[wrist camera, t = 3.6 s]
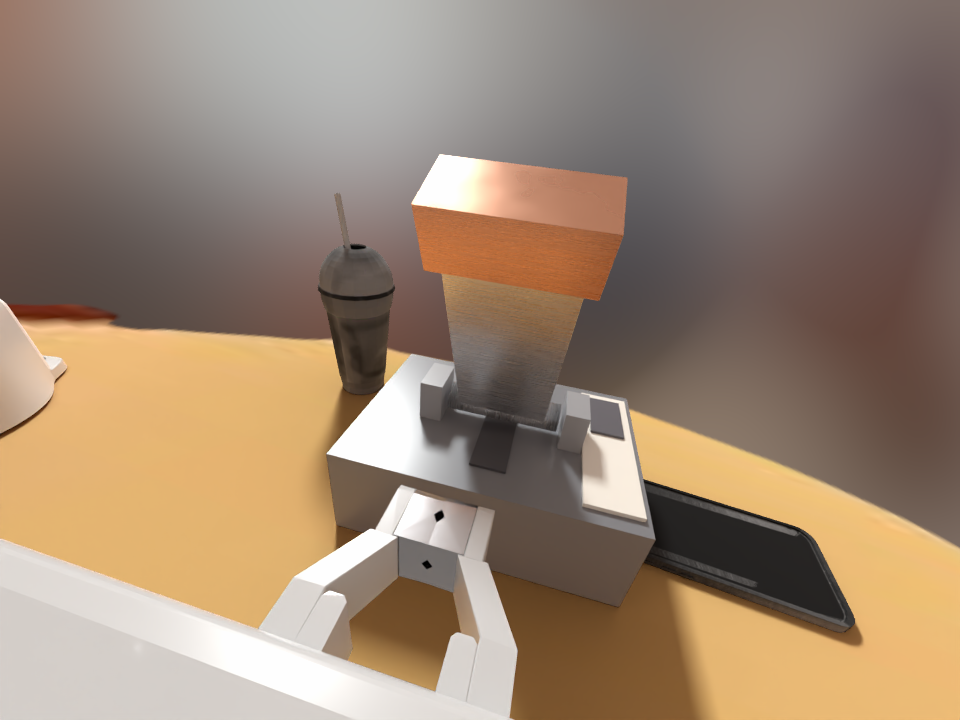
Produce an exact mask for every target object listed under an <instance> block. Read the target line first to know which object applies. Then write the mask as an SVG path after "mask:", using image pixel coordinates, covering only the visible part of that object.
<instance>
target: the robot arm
mask: <svg viewBox="0 0 960 720" xmlns="http://www.w3.org/2000/svg"><path fill="white" fill-rule="evenodd" d="M66 369H67V365H66V364H65V362H64V361H63V360H62V359H61V358H59V357H52V356H42V355H41V353H40V352H39V350H38V349H37V347H36V346H35V344H34V343H33V341H32V340H31V339H30V337H29V336H28V334H27V333H26V331H25V330H24V328H23V327H22V325H21V324H20V323H19V321H18V320H17V318H16V317H15V315H14V314H13V313H12V311H11V310H10V308H9V307H8V305H7V304H6V303H5V302H4V301H2V300H1V299H0V433H2V432H4V431H6V430H8V429H10V428H12V427H14V426H15V425H17V424H19V423H21V422H22V421H24V420H26V419H27V418H29V417H30V416H32V415H33V414H34V413H36V412H37V411H38V410H39V409H41V408H42V407H43V406H44V405H45V404H46V403H47V402H48V401H49V399H50V398H51V396H52V394H53V392H54V382H55V379H57V378H58V377H59V376H60V375H61V374H62V373H63V372H64V371H65V370H66ZM494 514H495V510H491V509H488V508H484V507H480V506H479V507H478V505H474V504H470V503H466V502H462V501H458V500H454V499H450V498H444V497H441V496H437V495H434V494H431V493H427V492H424V491H421V490H417V489H414V488H410V487H407V486H403V485H401V486H400V487H399V488H398V489H397V491H396V493H395V494H394V496H393V498H392V500H391V502H390V504H389V505H388V507H387V509H386V511H385V513H384V514H383V516H382V518H381V520H380V522H379V523H378V525H377V527H376V529H375V530H374V529H369V530H367V531H366V532H364V533H363V534H361V535H360V536H358V537H356V538H355V539H353V540H352V541H350V542H348V543H347V544H345V545H344V546H342V547H341V548H339V549H337V550H336V551H334V552H333V553H331V554H329V555H328V556H326V557H325V558H323V559H322V560H320V561H318V562H317V563H315V564H314V565H312V566H310V567H309V568H307V569H306V570H304V571H303V572H301V573H299V574H298V575H296V576H295V577H293V579H292V580H291V582H290V583H289V585H288V586H287V588H286V589H285V590H284V592H283V593H282V595H281V596H280V598H279V599H278V601H277V602H276V604H275V605H274V606H273V608H272V609H271V611H270V612H269V614H268V615H267V617H266V618H265V619H264V621H263V622H262V624H261V625H260V627H259V628H258V629H256V628H254V627H251V626H248V625H245V624H242V623H239V622H237V621H234V620H231V619H228V618H225V617H222V616H219V615H217V614H214V613H211V612H208V611H205V610H202V609H200V608H197V607H194V606H191V605H188V604H185V603H183V602H180V601H177V600H174V599H171V598H168V597H166V596H163V595H160V594H157V593H154V592H151V591H149V590H146V589H143V588H140V587H137V586H134V585H132V584H129V583H126V582H123V581H120V580H117V579H115V578H112V577H109V576H106V575H103V574H100V573H98V572H95V571H92V570H89V569H86V568H83V567H81V566H78V565H75V564H72V563H69V562H66V561H64V560H61V559H58V558H55V557H52V556H49V555H46V554H44V553H41V552H38V551H35V550H32V549H29V548H26V547H24V546H21V545H18V544H15V543H12V542H9V541H7V540H4V539H1V538H0V720H514V719H511V718H509V717H510V709H511V701H512V693H513V684H514V676H515V668H516V660H517V652H518V650H517V647H516V644H515V641H514V638H513V635H512V632H511V629H510V626H509V623H508V620H507V618H506V615H505V612H504V609H503V606H502V603H501V600H500V597H499V594H498V591H497V588H496V585H495V582H494V579H493V576H492V573H491V570H490V568H489V565H488V563H486V562H485V559H486V555H487V550H488V545H489V540H490V535H491V530H492V525H493V520H494ZM398 576H401V577H405V578H408V579H412V580H416V581H419V582H423V583H426V584H429V585H432V586H435V587H438V588H441V589H444V590H447V591H450V592H453V596H454V601H455V606H456V611H457V616H458V621H459V625H460V630H461V633H458V632H457V633H455V634H454V635H452V636H451V638H450V641H449V645H448V648H447V652H446V655H445V659H444V662H443V666H442V669H441V673H440V676H439V680H438V684H437V687H436V691H432V690H429V689H426V688H423V687H421V686H418V685H415V684H412V683H409V682H406V681H404V680H401V679H398V678H395V677H392V676H390V675H387V674H384V673H381V672H378V671H375V670H373V669H370V668H367V667H364V666H361V665H358V664H356V663H353V662H350V661H348V658H349V656H350V654H351V652H352V649H353V647H352V639H351V632H350V624H349V620H351V619H352V618H353V617H354V616H355V615H356V614H357V613H359V612H360V611H361V610H362V609H363V608H364V607H365V606H366V605H368V604H369V603H370V602H371V601H372V600H373V599H374V598H375V597H377V596H378V595H379V594H380V593H381V592H382V591H383V590H385V589H386V588H387V587H388V586H389V585H390V584H391V583H392V582H394V581H395V580H396V579H397V578H398Z"/></svg>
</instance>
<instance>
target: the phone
mask: <svg viewBox="0 0 960 720" xmlns="http://www.w3.org/2000/svg"><path fill="white" fill-rule="evenodd" d="M643 481H644V486H645V491H646V495H647V500H648V505H649V510H650V515H651V520H652V525H653V530H654V534H655V539H656V540H655V542H654V544H653V546H652V547H651V549H650V551H649V553H648V555H647V557H646V558H645V560H644V563H646V564H649V565H652V566H655V567H657V568H660V569H663V570H666V571H669V572H671V573H674V574H677V575H680V576H682V577H685V578H688V579H691V580H694V581H696V582H699V583H702V584H705V585H707V586H710V587H713V588H716V589H718V590H721V591H724V592H727V593H730V594H732V595H735V596H738V597H741V598H743V599H746V600H749V601H752V602H755V603H757V604H760V605H763V606H766V607H768V608H771V609H774V610H777V611H779V612H782V613H785V614H788V615H791V616H793V617H796V618H799V619H802V620H804V621H807V622H810V623H813V624H816V625H818V626H821V627H824V628H827V629H829V630H832V631H835V632H840V633H842V632H846V631H847V630H848V629H850V628H851V627H852V626H853V625H854V624H855V618H854V615H853V613H852V611H851V609H850V607H849V605H848V603H847V601H846V599H845V597H844V595H843V593H842V592H841V590H840V588H839V586H838V584H837V582H836V580H835V578H834V576H833V574H832V572H831V570H830V568H829V566H828V564H827V562H826V560H825V558H824V556H823V554H822V552H821V550H820V548H819V546H818V544H817V543H816V541H815V540H814V539H813V538H812V537H811V535H809V534H808V533H807V532H805V531H804V530H802V529H800V528H798V527H795V526H792V525H789V524H786V523H783V522H780V521H776V520H773V519H770V518H767V517H763V516H760V515H757V514H754V513H751V512H747V511H744V510H741V509H738V508H734V507H731V506H728V505H725V504H722V503H718V502H715V501H712V500H709V499H705V498H702V497H699V496H696V495H693V494H689V493H686V492H683V491H680V490H676V489H673V488H670V487H667V486H664V485H660V484H657V483H654V482H651V481H648V480H644V479H643Z"/></svg>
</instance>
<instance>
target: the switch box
mask: <svg viewBox="0 0 960 720" xmlns="http://www.w3.org/2000/svg"><path fill="white" fill-rule="evenodd" d="M453 381H455V382H457V380H456V373H455V366H454V363H453V362H448V361H443V360H439V359H434V358H429V357H424V356H419V355H415V354H411V355H410V356H409V358H408V359H407V360H406V361H405V362H404V363H403V365H402V366H401V367H400V368H399V369H398V370H397V372H396V373H395V374H394V375H393V376H392V377H391V379H390V380H389V381H388V382H387V383H386V384H385V386H384V387H383V388H382V389H381V390H380V391H379V393H378V394H377V395H376V396H375V397H374V399H373V400H372V401H371V402H370V403H369V404H368V406H367V407H366V408H365V409H364V410H363V411H362V413H361V414H360V415H359V416H358V417H357V418H356V420H355V421H354V422H353V423H352V424H351V425H350V427H349V428H348V429H347V430H346V431H345V432H344V434H343V435H342V436H341V437H340V438H339V439H338V441H337V442H336V443H335V444H334V445H333V446H332V448H331V449H330V450H329V451H328V452H327V453H326V455H327V462H328V469H329V477H330V484H331V491H332V498H333V505H334V512H335V520H336V525H338V526H342V527H345V528H348V529H352V530H355V531H359V532H362V533H364V532H366V531H367V530H369V529H374V530H375V529H376V527H377V525H378V523H379V522H380V520H381V518H382V516H383V514H384V513H385V511H386V509H387V507H388V505H389V504H390V502H391V500H392V498H393V496H394V494H395V493H396V491H397V489H398V488H399V487H400V486H401V485H403V486H407V487H410V488H414V489H417V490H421V491H424V492H427V493H431V494H434V495H437V496H441V497H444V498H450V499H454V500H458V501H462V502H466V503H470V504H474V505H478V507H479V506H480V507H484V508H488V509H491V510H495V514H494V520H493V525H492V530H491V535H490V540H489V545H488V550H487V555H486V559H485V562H486V563H488V565H489V568H490V570H492V571H496V572H499V573H503V574H506V575H510V576H513V577H516V578H520V579H523V580H527V581H530V582H534V583H537V584H540V585H544V586H547V587H551V588H554V589H558V590H561V591H564V592H568V593H571V594H575V595H578V596H582V597H585V598H588V599H592V600H595V601H599V602H602V603H606V604H609V605H612V606H616V607H619V606H620V605H621V603H622V601H623V599H624V597H625V595H626V593H627V592H628V590H629V588H630V586H631V584H632V582H633V581H634V579H635V577H636V575H637V573H638V571H639V570H640V568H641V566H642V564H643V562H644V560H645V558H646V557H647V555H648V553H649V551H650V549H651V547H652V546H653V544H654V542H655V540H656V539H655V534H654V530H653V525H652V520H651V515H650V510H649V505H648V500H647V495H646V491H645V486H644V481H643V476H642V471H641V466H640V461H639V456H638V452H637V447H636V442H635V437H634V432H633V427H632V422H631V417H630V412H629V408H628V403H627V399H624V398H620V397H615V396H610V395H605V394H600V393H596V392H591V391H586V390H582V389H577V388H572V387H567V386H562V385H557V384H556V386H555V389H554V392H553V395H552V398H551V401H550V402H552V403H557V404H561V412H560V418H559V423H558V427H557V430H556V432H553V431H549V430H545V429H540V428H536V427H532V426H527V425H523V424H519V423H514V422H510V421H505V420H501V419H497V418H492V417H488V416H484V415H479V414H475V413H470V412H466V411H462V410H457V409H453V408H449V407H448V406H447V400H448V394H449V390H450V387H451V385H452V383H453Z"/></svg>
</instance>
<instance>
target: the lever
mask: <svg viewBox="0 0 960 720" xmlns="http://www.w3.org/2000/svg"><path fill="white" fill-rule="evenodd" d="M626 192H627V178H625V177H617V176H609V175H601V174H592V173H585V172H577V171H568V170H560V169H552V168H544V167H536V166H528V165H520V164H512V163H504V162H496V161H488V160H487V161H486V160H480V159H471V158H463V157H455V156H447V155H440V156H439V157H438V159H437V161H436V163H435V164H434V166H433V168H432V170H431V171H430V173H429V175H428V176H427V178H426V180H425V182H424V183H423V185H422V187H421V189H420V190H419V192H418V194H417V195H416V197H415V199H414V200H413V202H412V204H411V205H412V210H413V215H414V221H415V226H416V231H417V236H418V241H419V247H420V252H421V257H422V263H423V268H424V270H425V271H431V272H437V273H442V279H443V286H444V293H445V300H446V307H447V315H448V322H449V330H450V337H451V344H452V351H453V359H454V366H455V373H456V380H457V382H455V381H453V383H452V385H451V387H450V390H449V394H448V400H447V406H448V407H449V408H453V409H457V410H462V411H466V412H470V413H475V414H479V415H484V416H488V417H492V418H497V419H501V420H505V421H510V422H514V423H519V424H523V425H527V426H532V427H536V428H540V429H545V430H549V431H553V432H556V430H557V427H558V423H559V418H560V412H561V404H557V403H552V402H550V401H551V398H552V395H553V392H554V389H555V386H556V383H557V379H558V376H559V373H560V370H561V367H562V364H563V361H564V358H565V354H566V351H567V348H568V345H569V342H570V339H571V335H572V333H573V330H574V326H575V323H576V320H577V317H578V314H579V311H580V308H581V305H582V301H583V298H586V299H592V300H598V301H599V299H600V296H601V294H602V291H603V288H604V286H605V283H606V280H607V278H608V275H609V272H610V270H611V267H612V264H613V262H614V259H615V256H616V254H617V251H618V248H619V245H620V243H621V240H622V238H623V233H624V220H625V206H626Z"/></svg>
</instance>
